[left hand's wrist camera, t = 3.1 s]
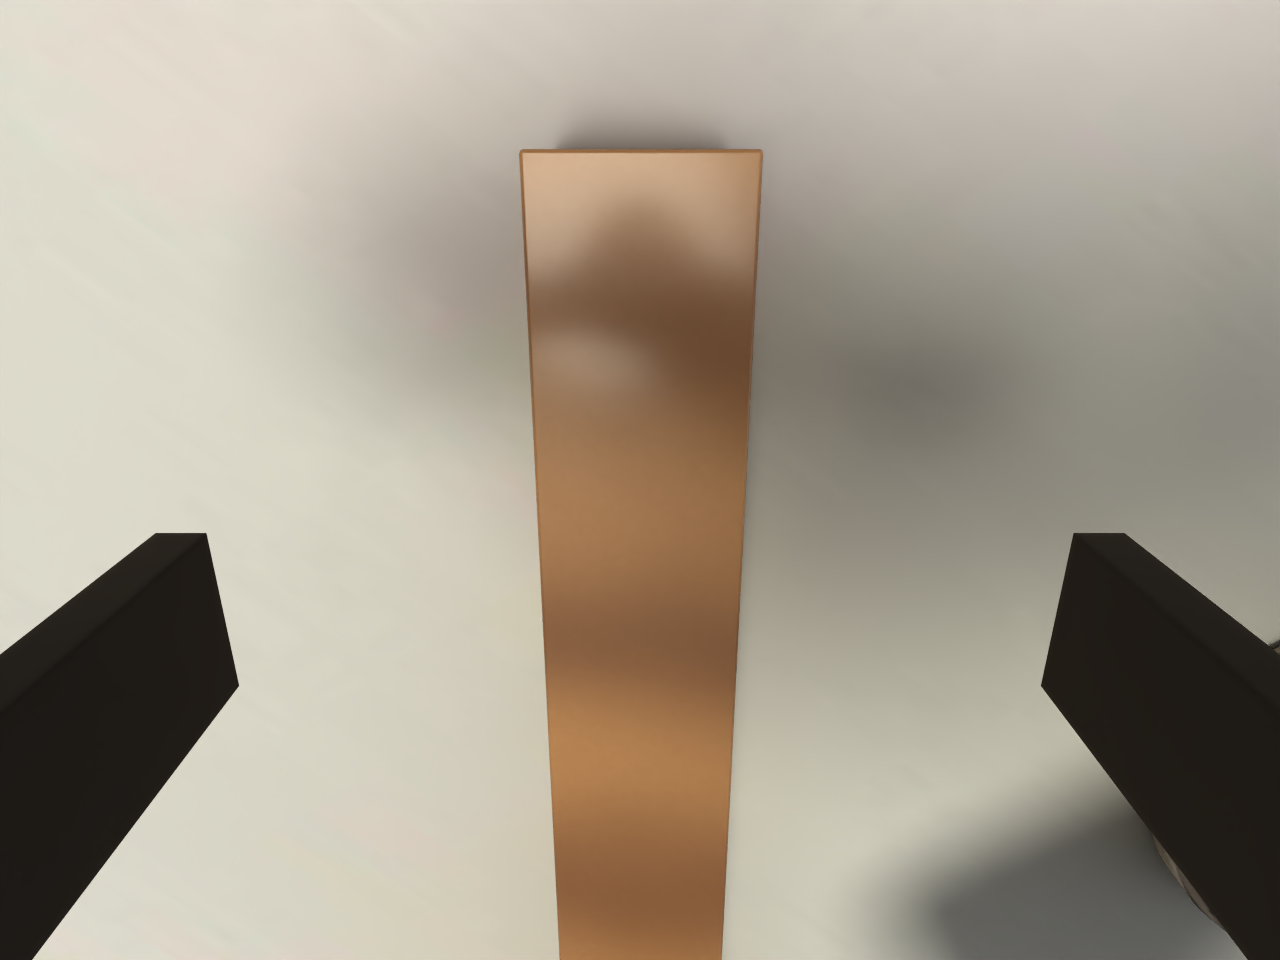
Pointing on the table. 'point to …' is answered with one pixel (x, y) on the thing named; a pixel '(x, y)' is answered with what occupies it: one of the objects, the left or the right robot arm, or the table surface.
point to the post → (640, 527)
